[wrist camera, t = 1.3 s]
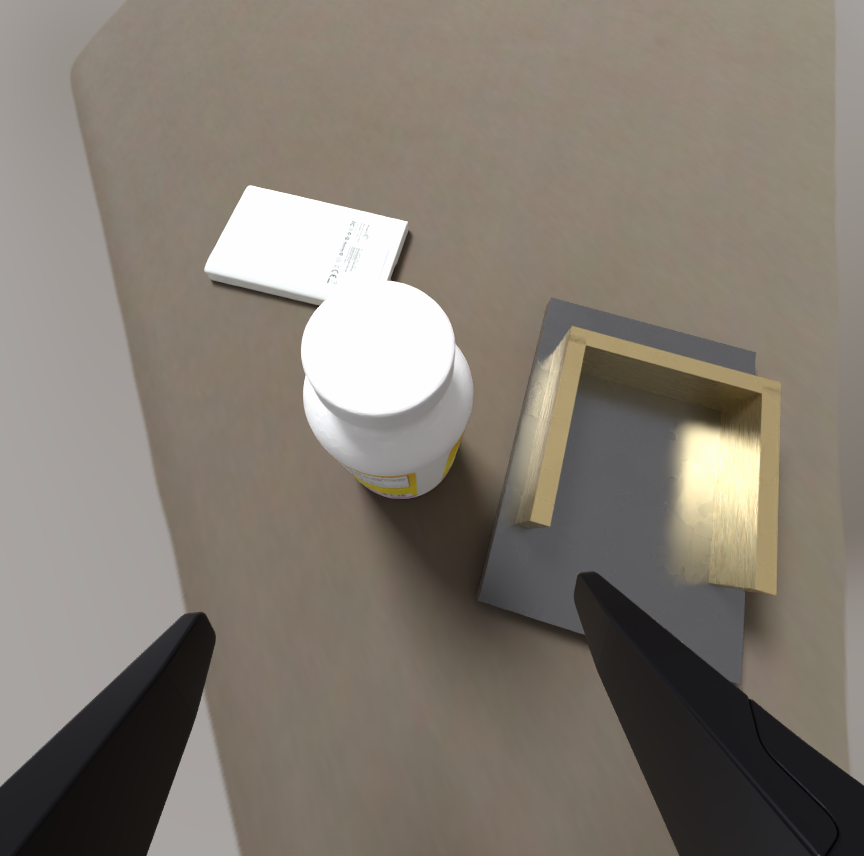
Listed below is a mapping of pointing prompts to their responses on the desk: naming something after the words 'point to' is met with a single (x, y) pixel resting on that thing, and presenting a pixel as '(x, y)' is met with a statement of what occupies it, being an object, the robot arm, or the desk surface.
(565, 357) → the wooden walled tray
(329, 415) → the supplement bottle
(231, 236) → the external hard drive
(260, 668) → the desk surface
